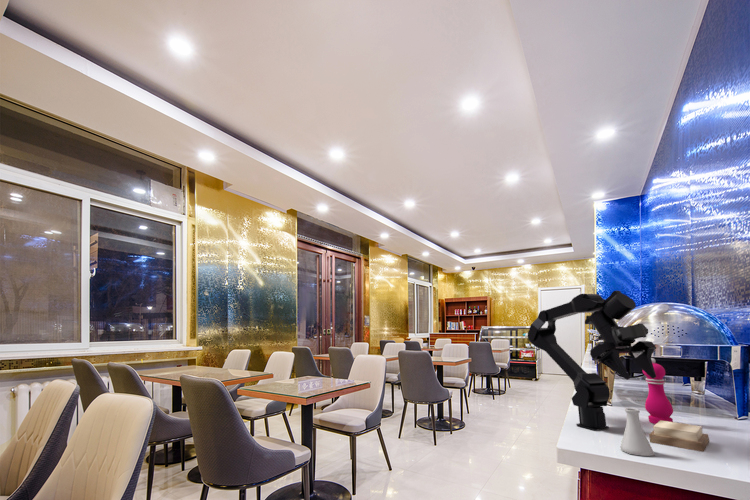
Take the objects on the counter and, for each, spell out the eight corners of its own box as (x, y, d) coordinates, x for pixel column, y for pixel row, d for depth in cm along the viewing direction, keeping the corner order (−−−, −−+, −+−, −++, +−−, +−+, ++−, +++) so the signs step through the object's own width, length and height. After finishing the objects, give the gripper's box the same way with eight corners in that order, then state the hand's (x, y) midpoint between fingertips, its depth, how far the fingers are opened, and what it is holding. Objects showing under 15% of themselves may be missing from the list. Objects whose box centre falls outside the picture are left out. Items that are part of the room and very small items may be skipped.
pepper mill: (670, 421, 123) (660, 357, 127) (679, 427, 116) (669, 359, 120) (644, 419, 125) (635, 356, 129) (651, 425, 118) (642, 358, 122)
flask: (661, 458, 90) (655, 413, 92) (627, 456, 91) (622, 411, 93) (646, 448, 97) (641, 406, 99) (615, 446, 98) (610, 405, 100)
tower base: (649, 442, 101) (647, 426, 102) (659, 434, 109) (656, 419, 110) (703, 451, 94) (700, 434, 94) (709, 442, 101) (706, 426, 102)
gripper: (600, 312, 105) (636, 364, 94) (651, 313, 110) (690, 362, 100) (576, 334, 112) (607, 385, 102) (625, 334, 118) (659, 382, 107)
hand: (641, 378), depth 102 cm, fingers open, 9 cm apart
